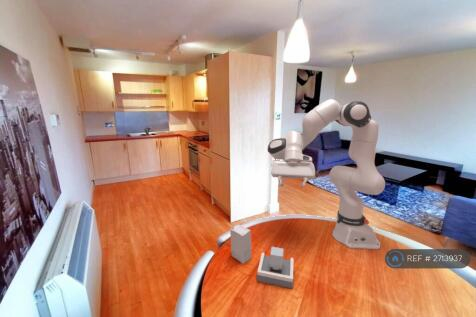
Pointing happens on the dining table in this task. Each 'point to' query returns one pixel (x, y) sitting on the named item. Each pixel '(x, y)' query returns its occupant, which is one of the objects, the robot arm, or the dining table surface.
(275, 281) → the dock
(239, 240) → the skincare box
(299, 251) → the dining table surface
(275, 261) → the white footed cube
